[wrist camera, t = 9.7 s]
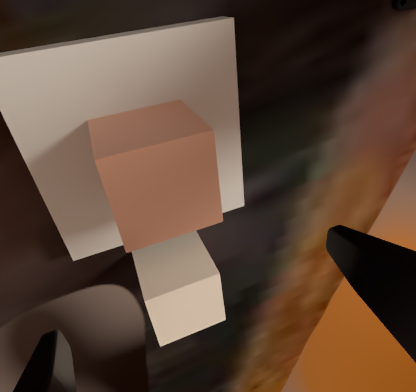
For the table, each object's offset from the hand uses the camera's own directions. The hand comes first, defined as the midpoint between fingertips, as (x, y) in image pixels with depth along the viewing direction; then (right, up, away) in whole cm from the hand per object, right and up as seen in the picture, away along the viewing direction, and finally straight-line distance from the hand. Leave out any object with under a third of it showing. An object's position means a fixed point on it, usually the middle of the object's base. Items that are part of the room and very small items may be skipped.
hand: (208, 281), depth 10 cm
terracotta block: (-4, +5, +8) cm, 10 cm away
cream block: (-3, -3, +15) cm, 16 cm away
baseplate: (-4, +6, +9) cm, 12 cm away
